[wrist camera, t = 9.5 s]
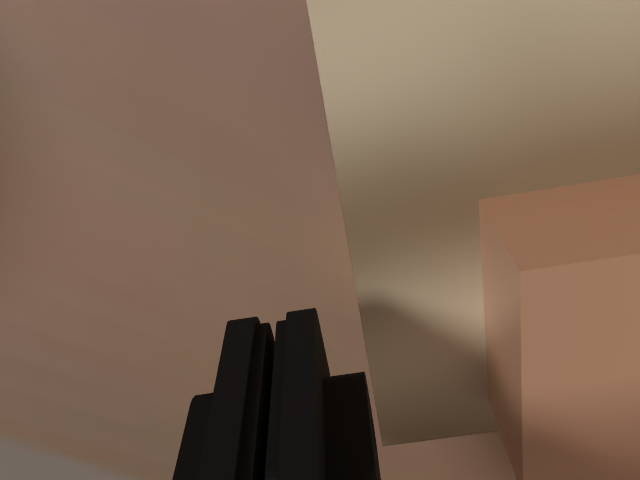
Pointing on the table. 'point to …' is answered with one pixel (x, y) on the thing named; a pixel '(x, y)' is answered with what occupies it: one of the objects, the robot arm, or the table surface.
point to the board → (459, 167)
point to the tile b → (565, 328)
